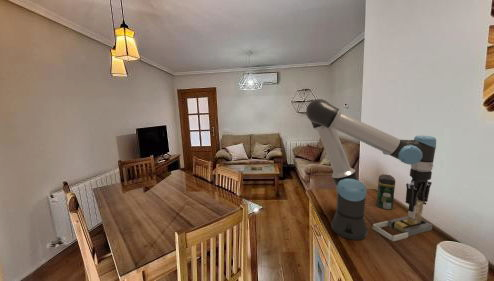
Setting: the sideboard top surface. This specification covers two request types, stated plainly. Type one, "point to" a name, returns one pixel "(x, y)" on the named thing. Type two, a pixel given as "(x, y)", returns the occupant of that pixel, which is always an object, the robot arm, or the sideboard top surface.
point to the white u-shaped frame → (387, 235)
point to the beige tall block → (417, 213)
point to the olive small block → (408, 223)
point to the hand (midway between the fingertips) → (414, 216)
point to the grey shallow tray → (411, 230)
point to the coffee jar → (385, 191)
